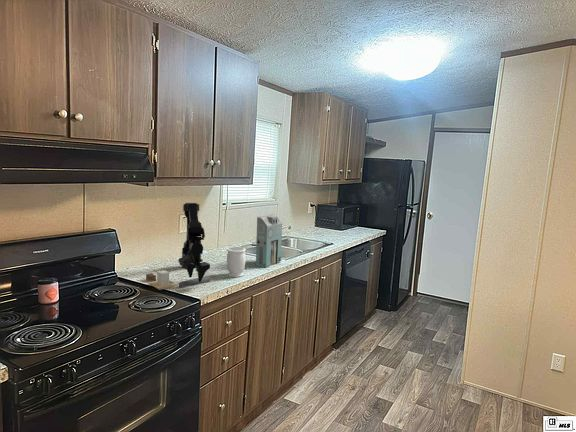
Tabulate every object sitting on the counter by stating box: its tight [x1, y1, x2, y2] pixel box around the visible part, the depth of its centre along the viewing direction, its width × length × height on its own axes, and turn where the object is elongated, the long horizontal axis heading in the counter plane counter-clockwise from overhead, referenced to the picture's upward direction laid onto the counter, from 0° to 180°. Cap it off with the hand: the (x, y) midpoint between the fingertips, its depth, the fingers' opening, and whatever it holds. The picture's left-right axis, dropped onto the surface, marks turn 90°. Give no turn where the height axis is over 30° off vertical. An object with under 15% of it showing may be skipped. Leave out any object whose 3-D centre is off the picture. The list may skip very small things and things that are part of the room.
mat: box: [147, 279, 179, 291], centre depth 202 cm, size 10×12×1 cm
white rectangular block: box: [156, 270, 170, 285], centre depth 202 cm, size 4×5×6 cm
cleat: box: [145, 272, 157, 282], centre depth 208 cm, size 3×5×3 cm, turn 44°
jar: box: [226, 246, 247, 278], centre depth 222 cm, size 11×10×15 cm
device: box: [255, 213, 283, 269], centre depth 246 cm, size 16×8×30 cm, turn 148°
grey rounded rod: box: [178, 275, 211, 289], centre depth 205 cm, size 18×3×3 cm, turn 135°
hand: (195, 279), depth 205 cm, fingers open, 9 cm apart
